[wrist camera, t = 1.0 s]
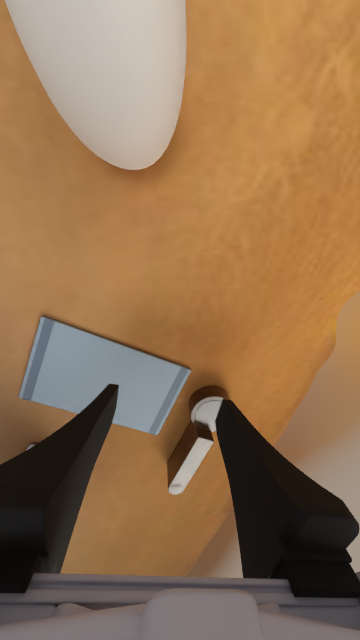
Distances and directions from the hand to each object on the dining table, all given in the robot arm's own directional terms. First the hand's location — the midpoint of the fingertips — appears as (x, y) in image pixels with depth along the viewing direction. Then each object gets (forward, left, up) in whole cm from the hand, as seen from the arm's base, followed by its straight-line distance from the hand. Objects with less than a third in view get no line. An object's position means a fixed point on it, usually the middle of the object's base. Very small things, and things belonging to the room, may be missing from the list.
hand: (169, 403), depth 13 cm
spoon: (-9, -11, -10) cm, 17 cm away
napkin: (-8, +3, -10) cm, 14 cm away
